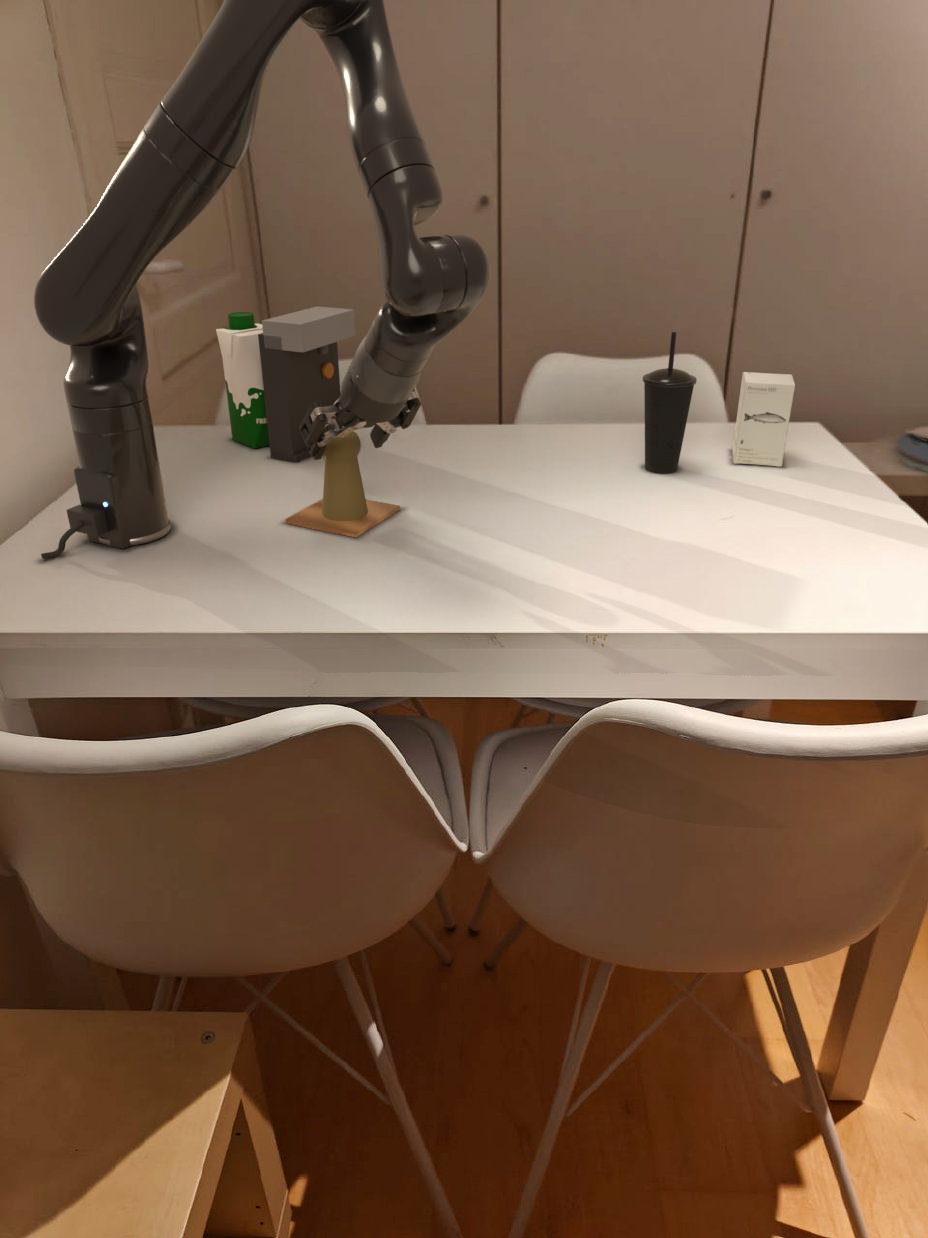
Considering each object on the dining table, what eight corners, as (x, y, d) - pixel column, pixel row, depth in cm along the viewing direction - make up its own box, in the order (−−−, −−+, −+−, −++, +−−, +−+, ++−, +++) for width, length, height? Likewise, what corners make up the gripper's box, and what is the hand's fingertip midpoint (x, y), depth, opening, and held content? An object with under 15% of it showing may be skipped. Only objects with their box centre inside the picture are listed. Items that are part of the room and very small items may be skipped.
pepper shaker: (360, 522, 120) (355, 439, 115) (315, 519, 121) (308, 436, 116) (373, 505, 125) (369, 425, 120) (330, 502, 126) (324, 423, 121)
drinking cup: (628, 471, 139) (639, 334, 130) (644, 457, 145) (656, 325, 136) (678, 479, 136) (693, 339, 126) (692, 464, 142) (707, 330, 132)
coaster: (356, 537, 117) (355, 533, 117) (285, 523, 121) (285, 519, 121) (400, 509, 126) (400, 505, 125) (333, 497, 130) (332, 493, 130)
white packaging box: (732, 464, 142) (743, 381, 136) (731, 450, 148) (742, 370, 142) (782, 467, 140) (796, 384, 134) (780, 453, 147) (792, 372, 141)
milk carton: (269, 429, 160) (257, 308, 151) (298, 440, 154) (287, 315, 145) (224, 439, 155) (208, 315, 146) (252, 451, 149) (237, 322, 140)
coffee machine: (312, 464, 143) (300, 324, 133) (270, 457, 146) (256, 319, 136) (361, 440, 154) (354, 309, 144) (322, 434, 157) (311, 305, 147)
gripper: (425, 338, 108) (383, 413, 122) (313, 353, 101) (282, 431, 115) (450, 392, 107) (404, 463, 121) (338, 411, 100) (303, 483, 114)
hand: (344, 447), depth 118 cm, fingers open, 8 cm apart
